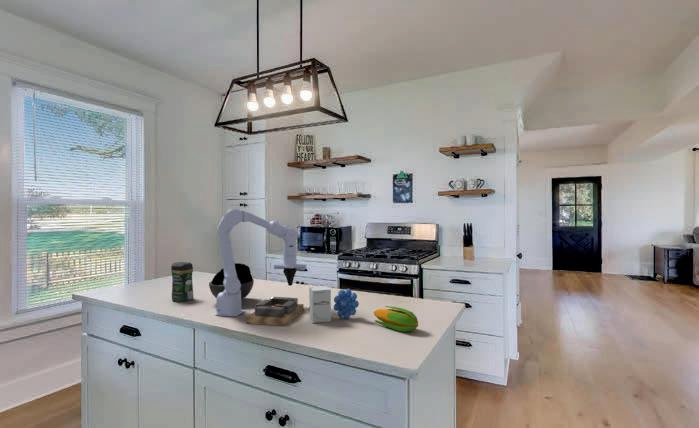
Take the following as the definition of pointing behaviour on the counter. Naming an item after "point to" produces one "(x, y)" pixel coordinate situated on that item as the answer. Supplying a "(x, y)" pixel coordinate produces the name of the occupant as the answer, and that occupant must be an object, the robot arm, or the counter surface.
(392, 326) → the corn
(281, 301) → the hinged leg
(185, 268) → the coffee jar
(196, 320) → the counter surface
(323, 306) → the supplement box
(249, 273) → the coal bowl
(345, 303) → the grapes
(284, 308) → the wooden board with bars
